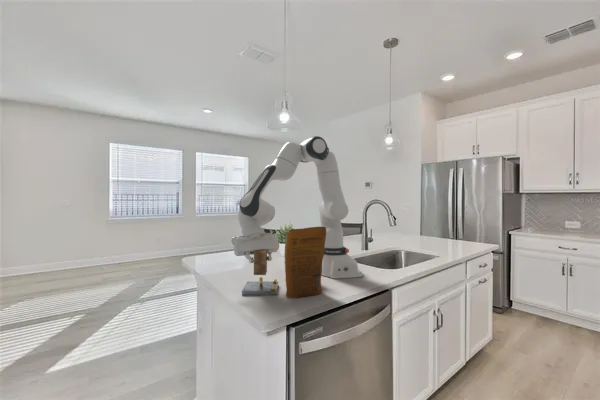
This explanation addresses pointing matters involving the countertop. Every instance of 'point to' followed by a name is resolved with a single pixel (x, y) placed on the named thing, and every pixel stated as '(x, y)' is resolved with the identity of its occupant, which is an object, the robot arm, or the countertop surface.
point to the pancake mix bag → (304, 261)
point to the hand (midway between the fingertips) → (261, 261)
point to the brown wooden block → (260, 262)
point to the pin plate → (260, 288)
